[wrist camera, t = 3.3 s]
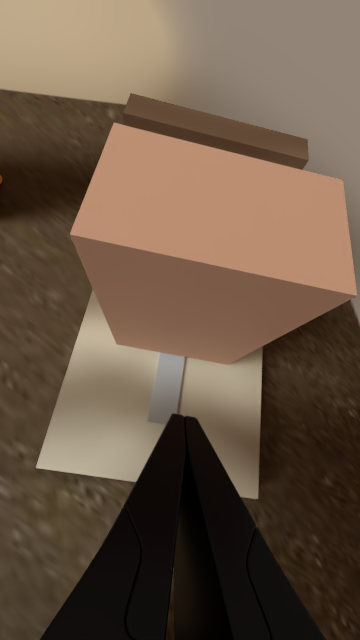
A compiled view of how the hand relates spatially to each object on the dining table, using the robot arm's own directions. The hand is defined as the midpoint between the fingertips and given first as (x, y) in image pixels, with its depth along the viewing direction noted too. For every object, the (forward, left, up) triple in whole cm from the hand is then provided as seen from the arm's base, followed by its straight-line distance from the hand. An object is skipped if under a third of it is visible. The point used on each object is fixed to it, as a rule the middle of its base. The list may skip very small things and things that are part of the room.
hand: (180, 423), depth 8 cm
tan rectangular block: (+6, 0, -6) cm, 8 cm away
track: (+6, 0, -8) cm, 10 cm away
